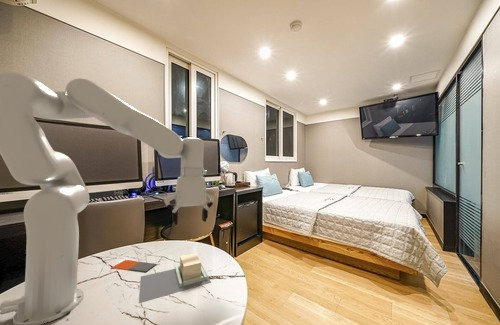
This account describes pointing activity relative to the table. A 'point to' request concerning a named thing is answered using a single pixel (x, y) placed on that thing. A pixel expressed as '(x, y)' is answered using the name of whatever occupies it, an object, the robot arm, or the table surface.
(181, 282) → the mat
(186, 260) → the card box
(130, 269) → the phone
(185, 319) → the table surface
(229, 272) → the table surface
